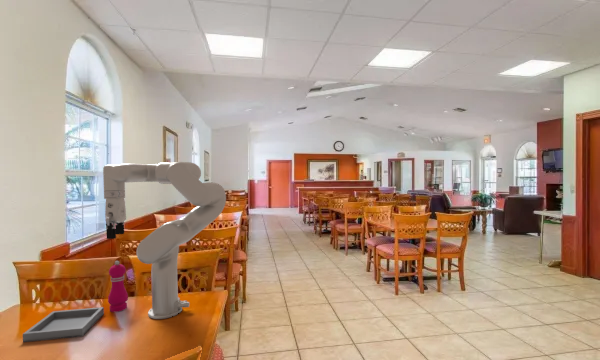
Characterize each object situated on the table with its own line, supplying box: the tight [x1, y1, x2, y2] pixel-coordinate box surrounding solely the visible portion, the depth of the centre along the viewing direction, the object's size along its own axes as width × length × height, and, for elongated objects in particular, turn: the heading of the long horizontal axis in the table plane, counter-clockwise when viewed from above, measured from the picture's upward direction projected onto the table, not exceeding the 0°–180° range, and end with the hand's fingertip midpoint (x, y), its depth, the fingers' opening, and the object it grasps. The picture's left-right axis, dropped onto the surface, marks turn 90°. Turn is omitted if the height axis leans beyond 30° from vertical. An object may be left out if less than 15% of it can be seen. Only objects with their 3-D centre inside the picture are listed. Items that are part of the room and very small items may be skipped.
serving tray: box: [22, 306, 105, 343], centre depth 119 cm, size 18×18×3 cm
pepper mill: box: [107, 260, 129, 313], centre depth 134 cm, size 7×7×20 cm
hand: (115, 236), depth 133 cm, fingers open, 9 cm apart
